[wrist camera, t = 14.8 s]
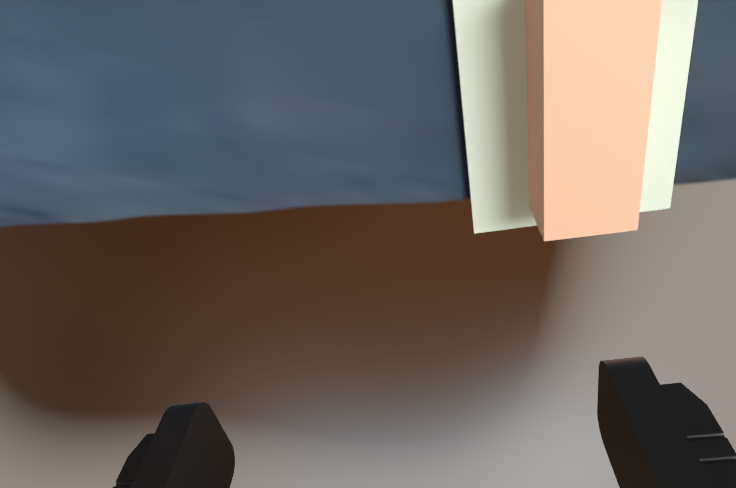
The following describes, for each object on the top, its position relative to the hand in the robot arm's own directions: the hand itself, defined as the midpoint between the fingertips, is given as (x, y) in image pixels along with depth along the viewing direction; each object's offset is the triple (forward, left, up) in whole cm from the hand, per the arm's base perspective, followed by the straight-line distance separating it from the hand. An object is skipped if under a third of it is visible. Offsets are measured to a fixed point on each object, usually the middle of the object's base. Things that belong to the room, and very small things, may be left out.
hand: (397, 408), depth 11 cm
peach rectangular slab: (+2, +9, -22) cm, 24 cm away
